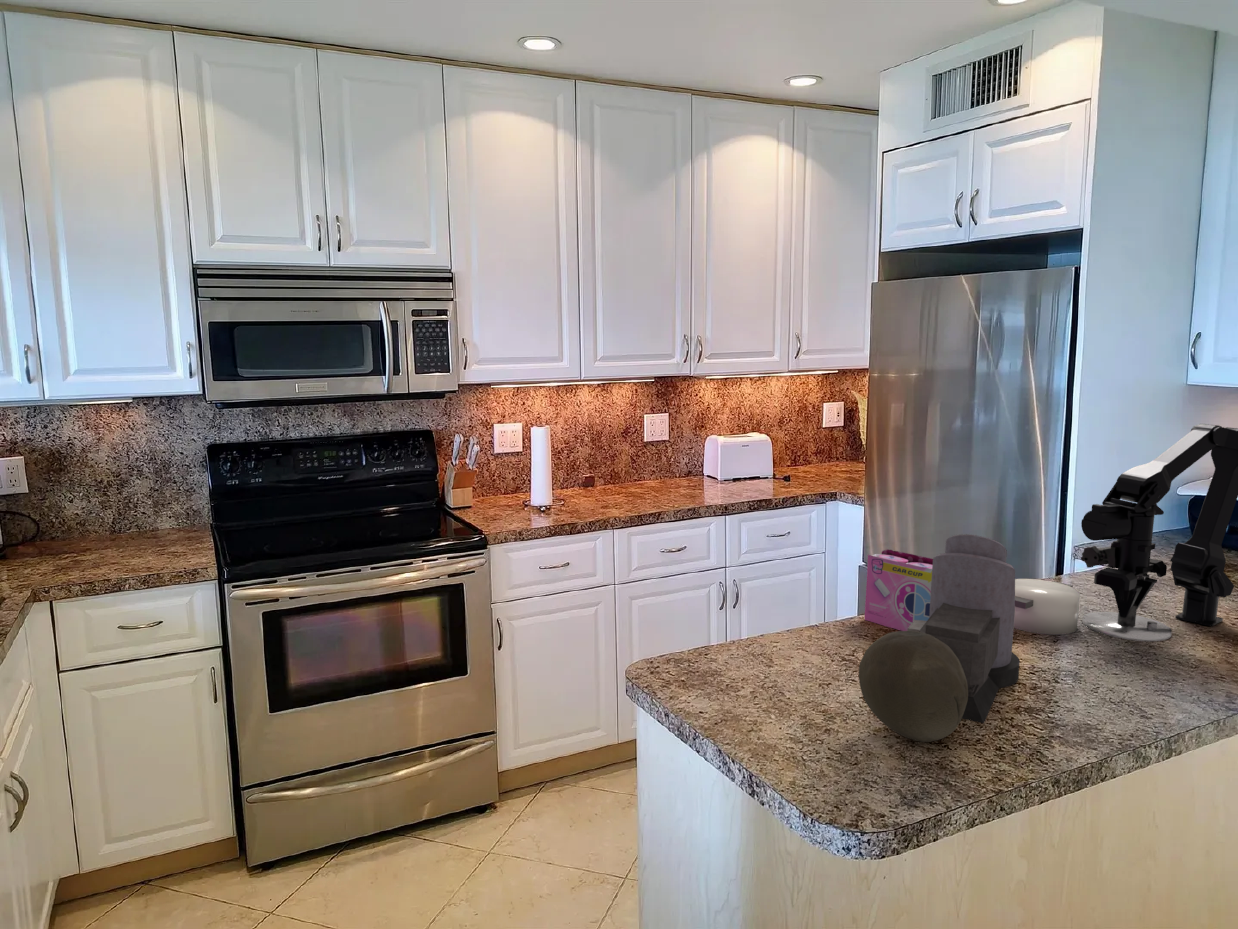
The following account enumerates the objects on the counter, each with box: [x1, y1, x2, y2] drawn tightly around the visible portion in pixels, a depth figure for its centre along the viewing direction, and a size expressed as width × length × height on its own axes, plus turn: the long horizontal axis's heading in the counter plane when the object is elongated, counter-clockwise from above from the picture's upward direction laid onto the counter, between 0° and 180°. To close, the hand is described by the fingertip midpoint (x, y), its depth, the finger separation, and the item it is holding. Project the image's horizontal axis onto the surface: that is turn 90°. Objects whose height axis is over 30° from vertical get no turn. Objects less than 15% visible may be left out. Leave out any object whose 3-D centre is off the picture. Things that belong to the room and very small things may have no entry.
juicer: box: [907, 533, 1021, 724], centre depth 138 cm, size 30×16×24 cm, turn 148°
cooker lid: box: [1081, 604, 1172, 642], centre depth 166 cm, size 15×15×5 cm
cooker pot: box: [1014, 578, 1081, 636], centre depth 168 cm, size 19×14×7 cm
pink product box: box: [864, 548, 933, 631], centre depth 163 cm, size 24×8×14 cm, turn 41°
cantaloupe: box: [858, 630, 968, 743], centre depth 118 cm, size 14×14×15 cm
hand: (1127, 615), depth 166 cm, fingers open, 3 cm apart
